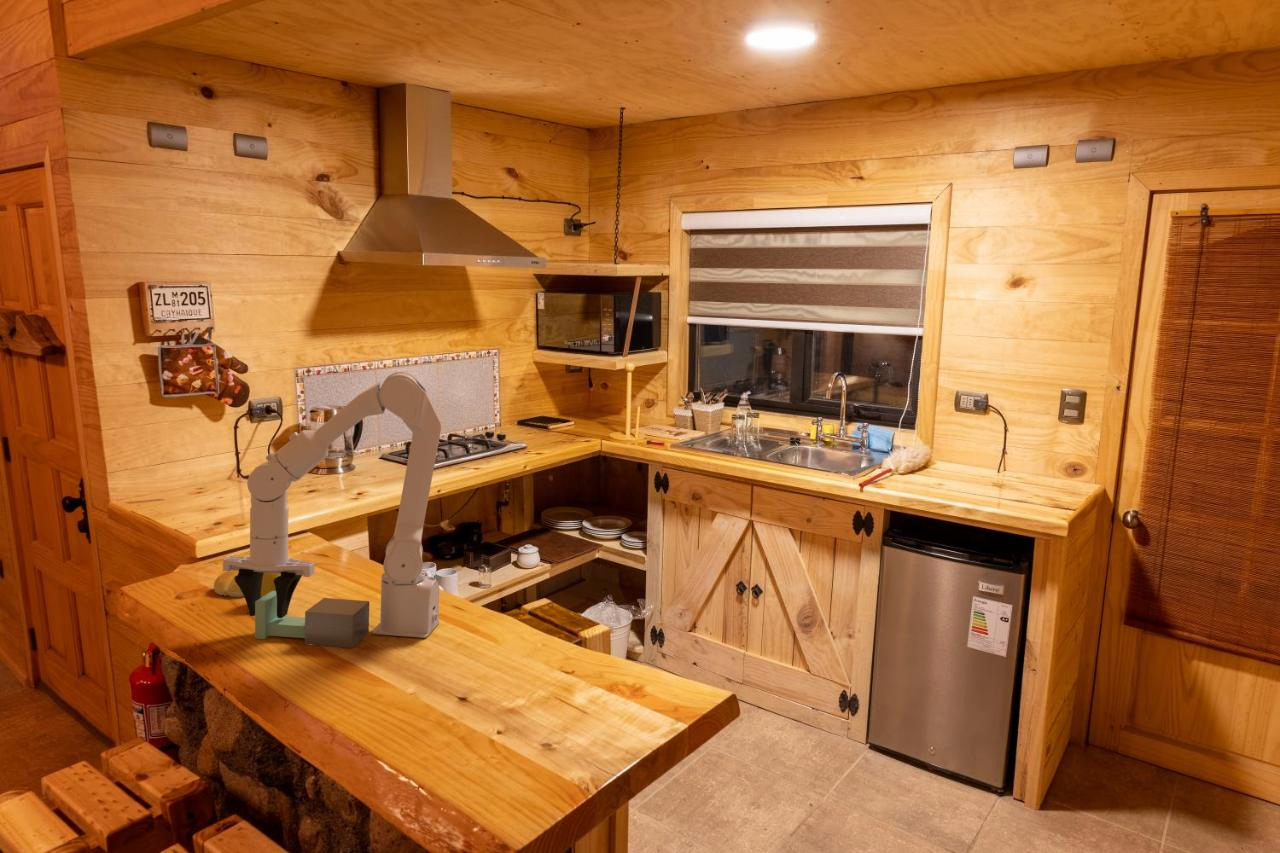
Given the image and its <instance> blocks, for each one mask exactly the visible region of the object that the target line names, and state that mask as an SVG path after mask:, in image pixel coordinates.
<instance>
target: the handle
mask: <svg viewBox="0 0 1280 853" xmlns="http://www.w3.org/2000/svg"><path fill="white" fill-rule="evenodd" d="M254 629H255V630H254V639H259V640H266V639H267V638H268V637H271V636H272V637H286V638H296V639H297V638H299V639H305V617H303V616H302V617H301V616H290V615H289V616H288V615H286V616H284V617H283V618H277V595H276V591H271V592H270V593H268V594H267V595H265V596H263V597H262V598H260V599H259V600H257V601H255V616H254Z"/></svg>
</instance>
